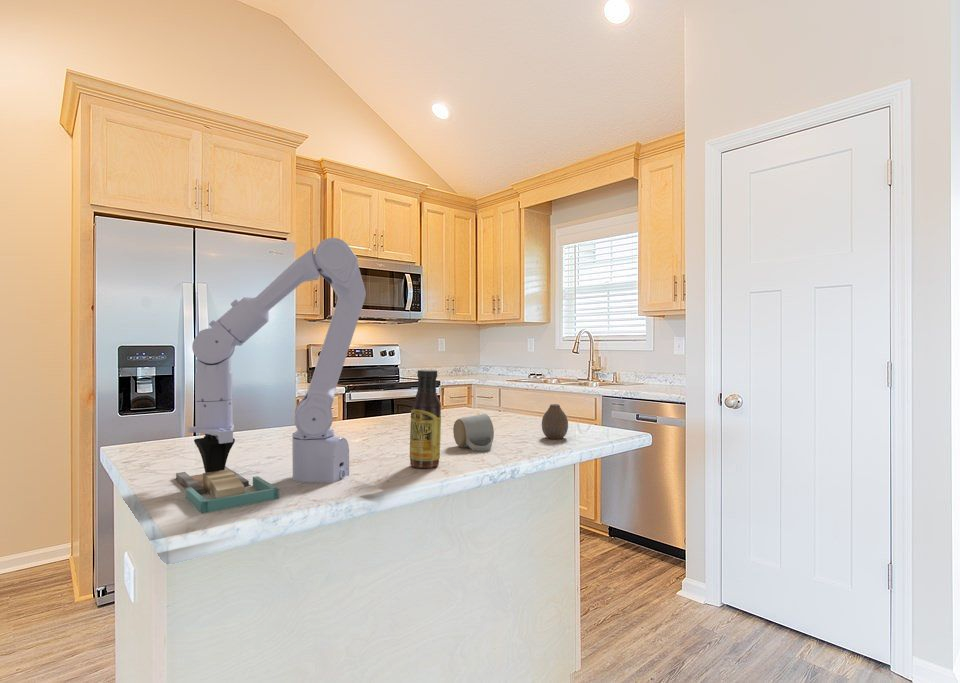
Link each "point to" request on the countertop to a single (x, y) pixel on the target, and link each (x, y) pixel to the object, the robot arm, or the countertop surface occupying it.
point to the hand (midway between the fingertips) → (214, 479)
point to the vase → (554, 422)
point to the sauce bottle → (425, 423)
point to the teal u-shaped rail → (234, 497)
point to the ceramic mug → (474, 432)
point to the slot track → (201, 481)
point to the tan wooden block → (226, 487)
